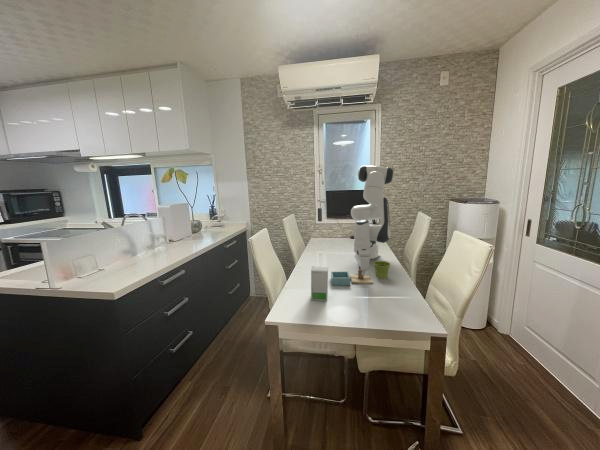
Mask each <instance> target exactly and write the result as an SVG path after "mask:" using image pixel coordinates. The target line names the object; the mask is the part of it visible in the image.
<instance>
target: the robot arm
mask: <svg viewBox="0 0 600 450" xmlns="http://www.w3.org/2000/svg"><path fill="white" fill-rule="evenodd" d="M394 176H395V173H394V169H393V168H392V167H388V166H387V167H386V166H382V165H367V164H366V165H361V166H360V167H359V169H358V170H357V178H358V181H360V182H363V183H364V189H363V195H362V196H363V197H362V198H363V199H364V201H366V202H367V203H368V204H360V205H354V206H352V208H351V210H350V216H351V218H352V219H353V220H355V223H354V227H353V229H354V230H353V238H354V241H353V252H354V257H355V260H356V262H357V267H358V270H362V272H361V274H362V276H365V275H366V271H368V270H369V268H370V261H371V259H376V258H379V257H381V254H380V253H379V245H378V244H377V242H378V243H382V244H384V243H386V242H388V241H389V240H391V236H392V232H391V226H390V224H391V223H390V207H389V201H388V198H387V197H385V195H384V190H385V189H384V188H385V185H389V184H391V183H392V181H393V180H394V178H395V177H394ZM371 220H372V221H373V220H380V224H373V223H370V221H371Z"/></svg>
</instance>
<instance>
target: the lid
mask: <svg viewBox="0 0 600 450" xmlns="http://www.w3.org/2000/svg"><path fill="white" fill-rule="evenodd" d="M357 272H358V274H349V275H350V278H351V281H352V284H351V285H374V282H373V280H372V279H371V277H370V275H369V274H365V276H362V274H361V272H362V270H359V269H358V270H357ZM351 281H350V282H351Z"/></svg>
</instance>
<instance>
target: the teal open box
mask: <svg viewBox="0 0 600 450" xmlns="http://www.w3.org/2000/svg"><path fill="white" fill-rule="evenodd" d="M350 275H351V274H350V272H349V271H344V270H343V271H341V270H340V271H338V270H337V271H330V281H331V286H332V287H335V286H337V287H338V286H339V287H341V286H343V287H351V281H350Z"/></svg>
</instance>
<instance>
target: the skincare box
mask: <svg viewBox="0 0 600 450" xmlns="http://www.w3.org/2000/svg"><path fill="white" fill-rule="evenodd" d="M310 272H311V273H310V282H311V283H310V300H311V301H320V302H328V295H329V293H328V291H329V288H328V284H329V278H328V277H329V267H328V266H317V265H316V266H315V265H314V266H311V270H310Z"/></svg>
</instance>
